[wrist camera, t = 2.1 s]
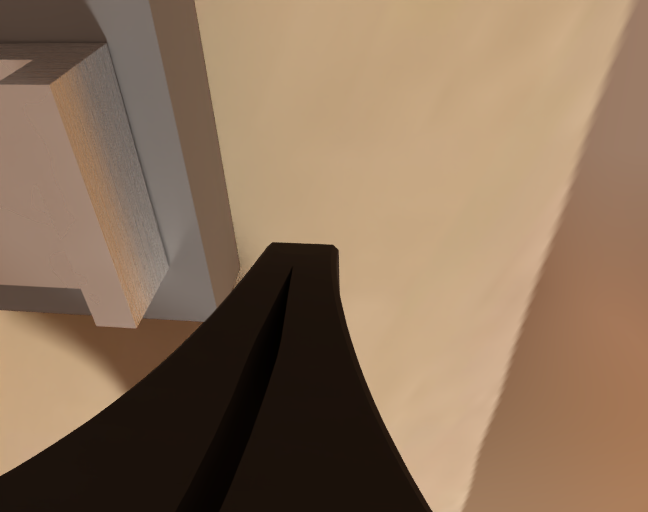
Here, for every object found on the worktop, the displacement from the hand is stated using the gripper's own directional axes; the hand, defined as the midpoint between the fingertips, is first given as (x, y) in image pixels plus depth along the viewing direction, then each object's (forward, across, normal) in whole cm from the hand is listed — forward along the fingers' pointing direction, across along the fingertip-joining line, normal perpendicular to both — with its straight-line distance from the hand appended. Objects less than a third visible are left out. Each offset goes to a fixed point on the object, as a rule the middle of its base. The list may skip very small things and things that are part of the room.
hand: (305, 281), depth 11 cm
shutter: (+4, +9, 0) cm, 10 cm away
